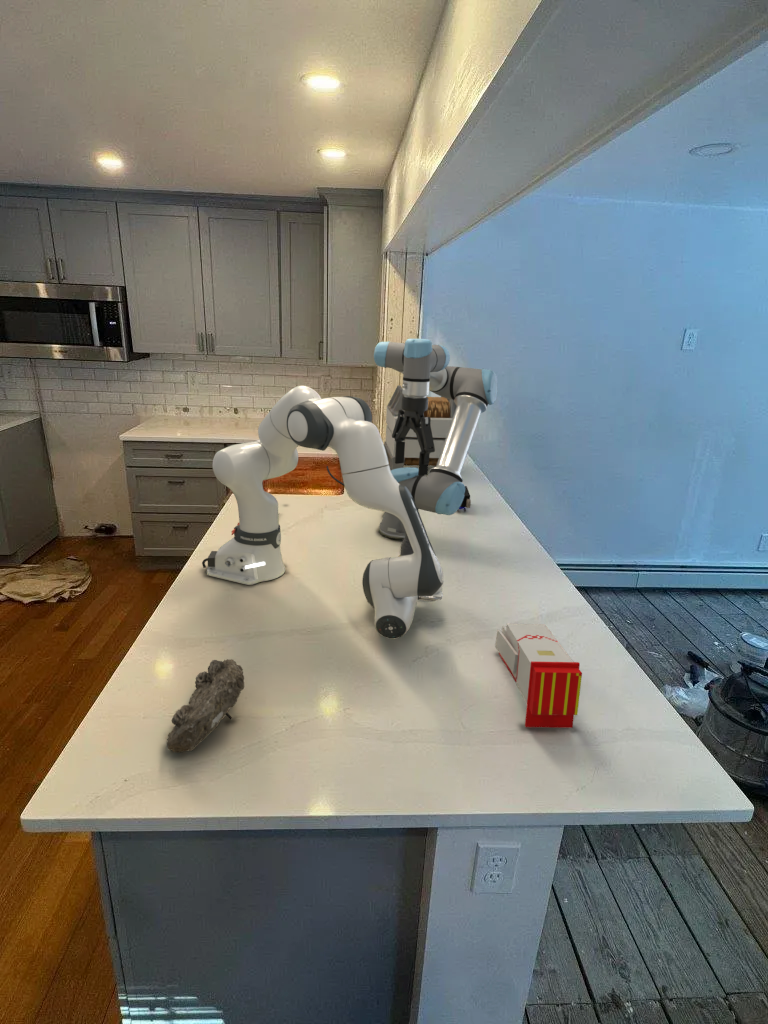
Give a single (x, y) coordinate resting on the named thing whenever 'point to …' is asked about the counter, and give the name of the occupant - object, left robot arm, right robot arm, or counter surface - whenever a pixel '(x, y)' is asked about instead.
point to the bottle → (406, 547)
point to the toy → (541, 674)
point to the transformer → (440, 423)
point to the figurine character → (465, 500)
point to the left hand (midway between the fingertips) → (407, 572)
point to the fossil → (206, 705)
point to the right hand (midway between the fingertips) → (410, 468)
